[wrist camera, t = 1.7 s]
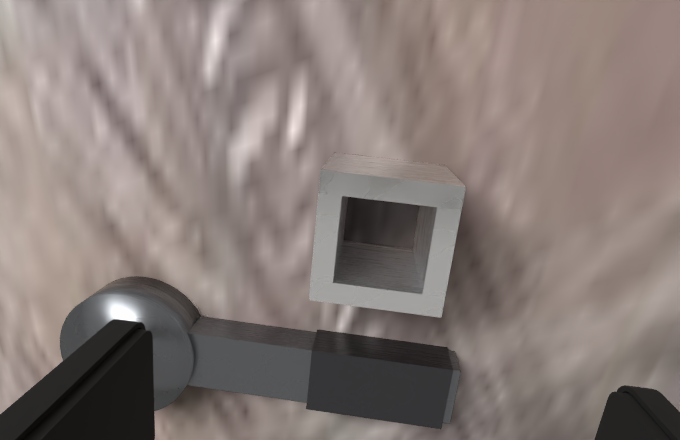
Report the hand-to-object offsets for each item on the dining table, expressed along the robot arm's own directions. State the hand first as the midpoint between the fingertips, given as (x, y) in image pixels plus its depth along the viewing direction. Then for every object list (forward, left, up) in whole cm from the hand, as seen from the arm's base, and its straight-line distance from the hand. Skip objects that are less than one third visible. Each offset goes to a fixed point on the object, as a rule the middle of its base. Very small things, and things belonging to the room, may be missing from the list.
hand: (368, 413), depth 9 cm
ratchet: (+6, +10, -16) cm, 20 cm away
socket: (0, 0, -16) cm, 16 cm away
